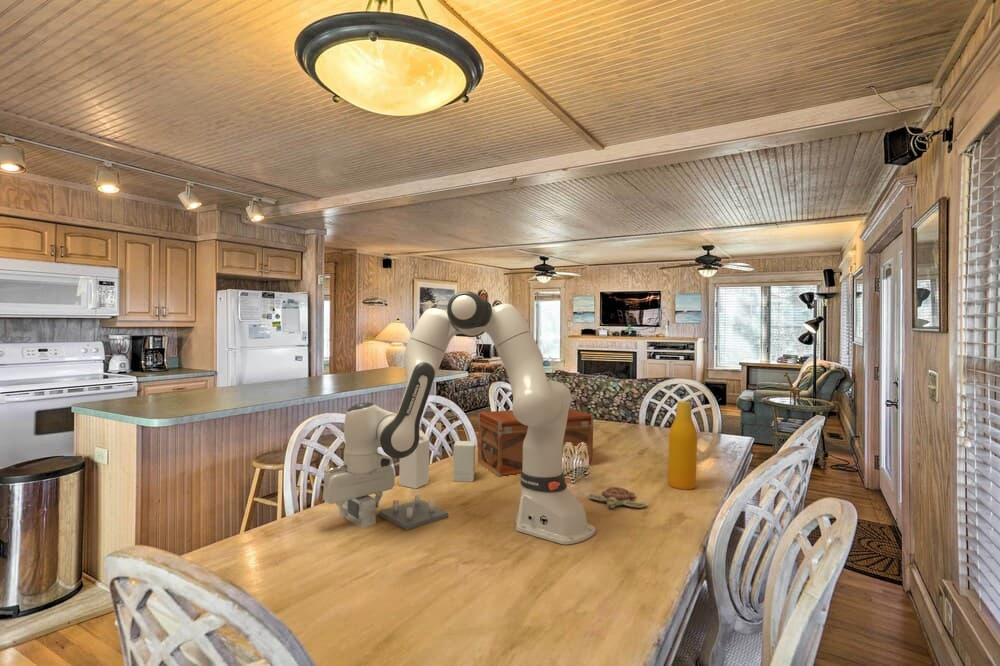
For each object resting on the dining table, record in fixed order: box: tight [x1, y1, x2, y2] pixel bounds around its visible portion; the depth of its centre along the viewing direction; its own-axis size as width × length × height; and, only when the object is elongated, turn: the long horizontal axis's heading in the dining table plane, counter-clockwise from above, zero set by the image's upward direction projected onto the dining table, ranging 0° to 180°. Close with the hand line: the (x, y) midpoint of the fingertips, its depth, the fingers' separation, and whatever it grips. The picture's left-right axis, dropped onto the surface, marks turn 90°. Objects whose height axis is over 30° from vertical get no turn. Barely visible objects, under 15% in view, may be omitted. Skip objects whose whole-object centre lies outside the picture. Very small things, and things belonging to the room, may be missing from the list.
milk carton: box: [398, 426, 430, 489], centre depth 173 cm, size 7×7×19 cm
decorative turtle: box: [587, 486, 647, 509], centre depth 160 cm, size 18×17×5 cm
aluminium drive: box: [343, 495, 377, 529], centre depth 141 cm, size 10×4×7 cm, turn 44°
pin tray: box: [378, 493, 449, 531], centre depth 146 cm, size 14×14×4 cm
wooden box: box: [477, 407, 594, 478], centre depth 200 cm, size 20×41×20 cm, turn 114°
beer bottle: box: [667, 400, 698, 490], centre depth 177 cm, size 9×9×29 cm
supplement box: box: [452, 440, 476, 483], centre depth 181 cm, size 7×7×13 cm
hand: (359, 511), depth 142 cm, fingers open, 8 cm apart
